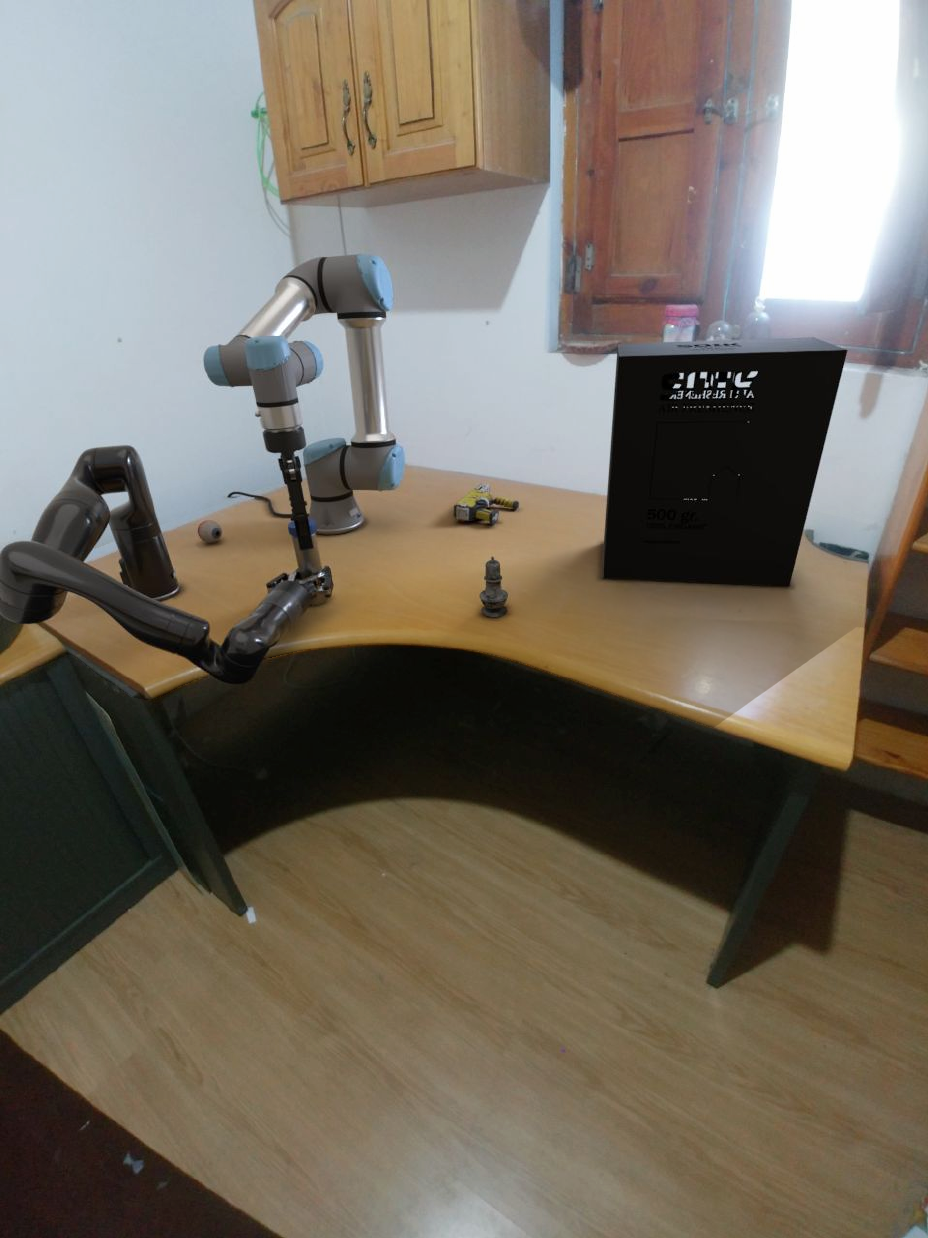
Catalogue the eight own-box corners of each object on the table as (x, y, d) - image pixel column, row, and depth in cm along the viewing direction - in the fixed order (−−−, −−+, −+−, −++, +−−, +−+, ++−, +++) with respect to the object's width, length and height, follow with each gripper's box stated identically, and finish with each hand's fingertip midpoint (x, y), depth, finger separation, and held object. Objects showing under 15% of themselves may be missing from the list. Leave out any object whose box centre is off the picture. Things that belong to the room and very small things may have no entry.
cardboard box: (767, 547, 142) (813, 337, 119) (789, 586, 125) (847, 349, 102) (603, 542, 149) (617, 343, 127) (603, 578, 132) (618, 356, 110)
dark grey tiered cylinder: (506, 618, 119) (505, 563, 113) (477, 616, 120) (474, 562, 114) (510, 604, 124) (509, 550, 118) (482, 602, 125) (480, 549, 119)
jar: (321, 593, 133) (307, 520, 125) (331, 600, 130) (318, 526, 122) (301, 600, 131) (286, 526, 122) (311, 607, 128) (296, 532, 119)
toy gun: (527, 488, 179) (479, 481, 183) (505, 513, 159) (452, 504, 162) (525, 503, 181) (478, 496, 185) (503, 529, 161) (451, 520, 165)
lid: (320, 533, 121) (318, 524, 120) (292, 539, 119) (290, 530, 118) (313, 524, 126) (311, 516, 125) (286, 530, 124) (284, 521, 123)
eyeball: (211, 547, 159) (205, 526, 156) (196, 543, 162) (190, 522, 159) (229, 539, 163) (224, 518, 160) (214, 536, 166) (209, 515, 164)
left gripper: (252, 623, 118) (289, 583, 133) (321, 626, 116) (350, 586, 130) (243, 589, 115) (282, 552, 129) (314, 591, 112) (345, 554, 127)
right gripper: (260, 420, 119) (283, 530, 131) (263, 440, 104) (289, 563, 115) (298, 416, 121) (318, 525, 132) (307, 435, 105) (329, 556, 117)
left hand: (316, 569), depth 130 cm, fingers closed on jar, 4 cm apart
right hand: (305, 543), depth 124 cm, fingers closed on lid, 5 cm apart
